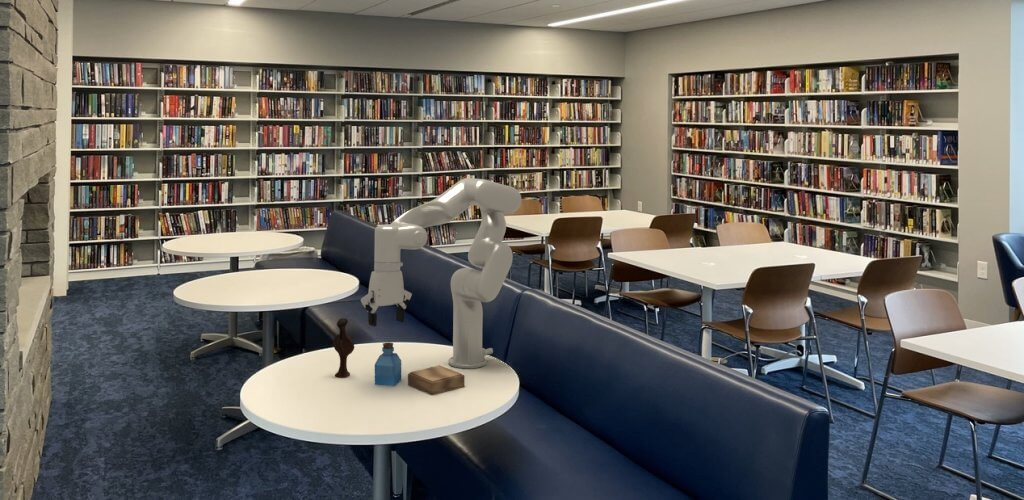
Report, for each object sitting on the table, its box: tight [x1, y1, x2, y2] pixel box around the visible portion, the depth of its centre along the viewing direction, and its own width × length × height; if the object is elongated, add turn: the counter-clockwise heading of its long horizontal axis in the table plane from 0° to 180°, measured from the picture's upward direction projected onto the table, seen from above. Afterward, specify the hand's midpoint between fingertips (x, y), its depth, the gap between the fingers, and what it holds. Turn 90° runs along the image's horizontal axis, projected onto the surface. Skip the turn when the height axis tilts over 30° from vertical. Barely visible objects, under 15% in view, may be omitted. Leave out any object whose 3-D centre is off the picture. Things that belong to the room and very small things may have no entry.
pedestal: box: [407, 365, 465, 396], centre depth 236 cm, size 12×12×4 cm
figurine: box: [332, 317, 355, 379], centre depth 243 cm, size 7×5×18 cm
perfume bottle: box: [374, 341, 402, 387], centre depth 238 cm, size 6×6×12 cm
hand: (386, 323), depth 236 cm, fingers open, 9 cm apart
